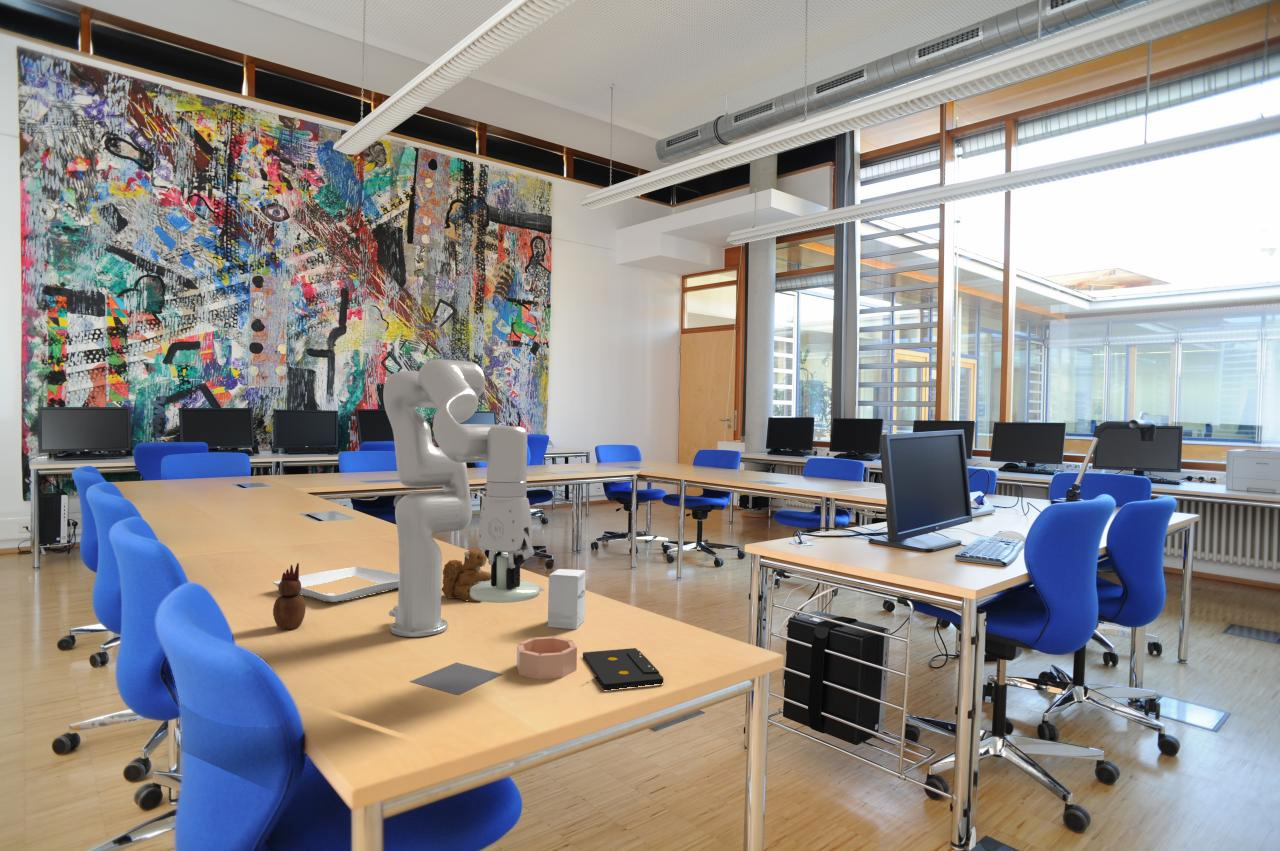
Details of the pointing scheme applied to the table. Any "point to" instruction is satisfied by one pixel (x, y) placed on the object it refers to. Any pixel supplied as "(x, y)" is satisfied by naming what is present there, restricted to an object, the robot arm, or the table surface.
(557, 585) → the supplement box
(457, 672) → the mat
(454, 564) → the stuffed squirrel
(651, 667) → the cassette tape
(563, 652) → the bowl
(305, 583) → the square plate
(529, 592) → the lid
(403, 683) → the table surface
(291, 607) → the wooden figurine
